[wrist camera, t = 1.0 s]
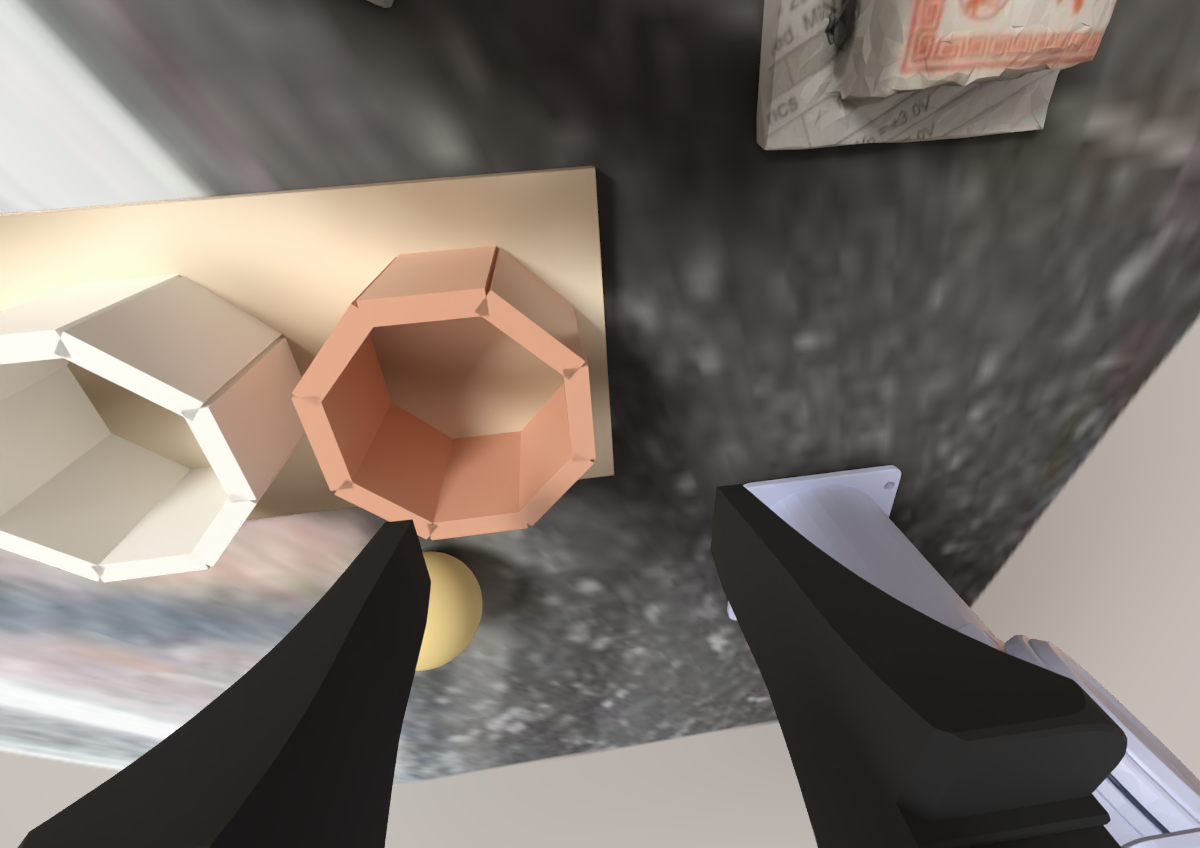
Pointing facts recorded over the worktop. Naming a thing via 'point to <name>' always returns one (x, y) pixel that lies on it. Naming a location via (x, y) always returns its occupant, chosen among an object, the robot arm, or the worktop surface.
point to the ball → (449, 610)
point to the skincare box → (382, 2)
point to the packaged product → (915, 67)
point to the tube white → (119, 467)
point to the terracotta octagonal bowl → (421, 452)
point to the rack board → (340, 294)
